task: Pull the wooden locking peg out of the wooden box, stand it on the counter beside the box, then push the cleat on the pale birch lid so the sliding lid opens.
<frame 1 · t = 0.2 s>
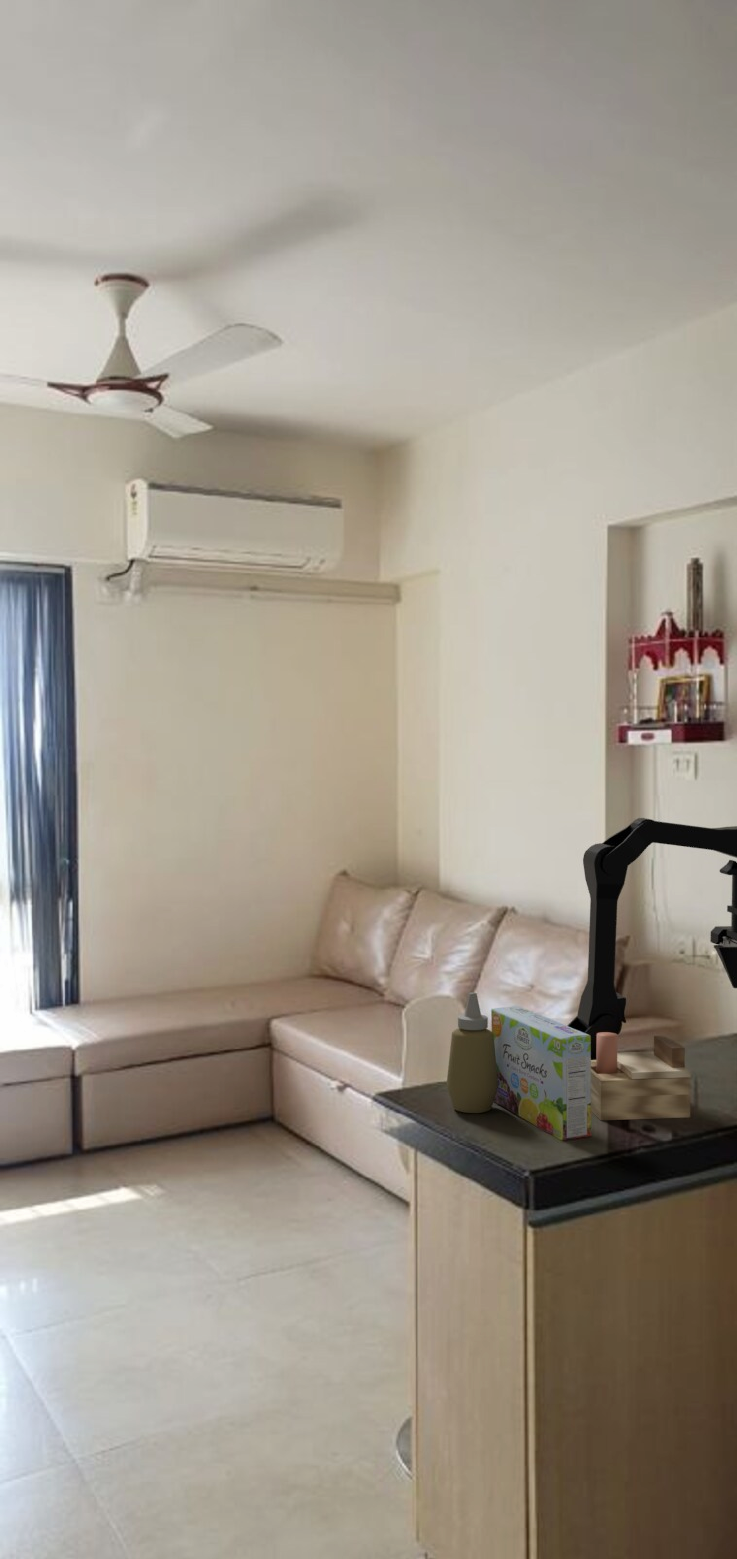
wooden box: (632, 1107, 196), on the worktop
snack box: (538, 1120, 190), on the worktop
lid: (647, 1055, 196), point 8 cm above the worktop, slide at 0.0 cm
key peg: (606, 1085, 195), point 3 cm above the worktop, touching wooden box
squeeze bottle: (472, 1110, 195), on the worktop
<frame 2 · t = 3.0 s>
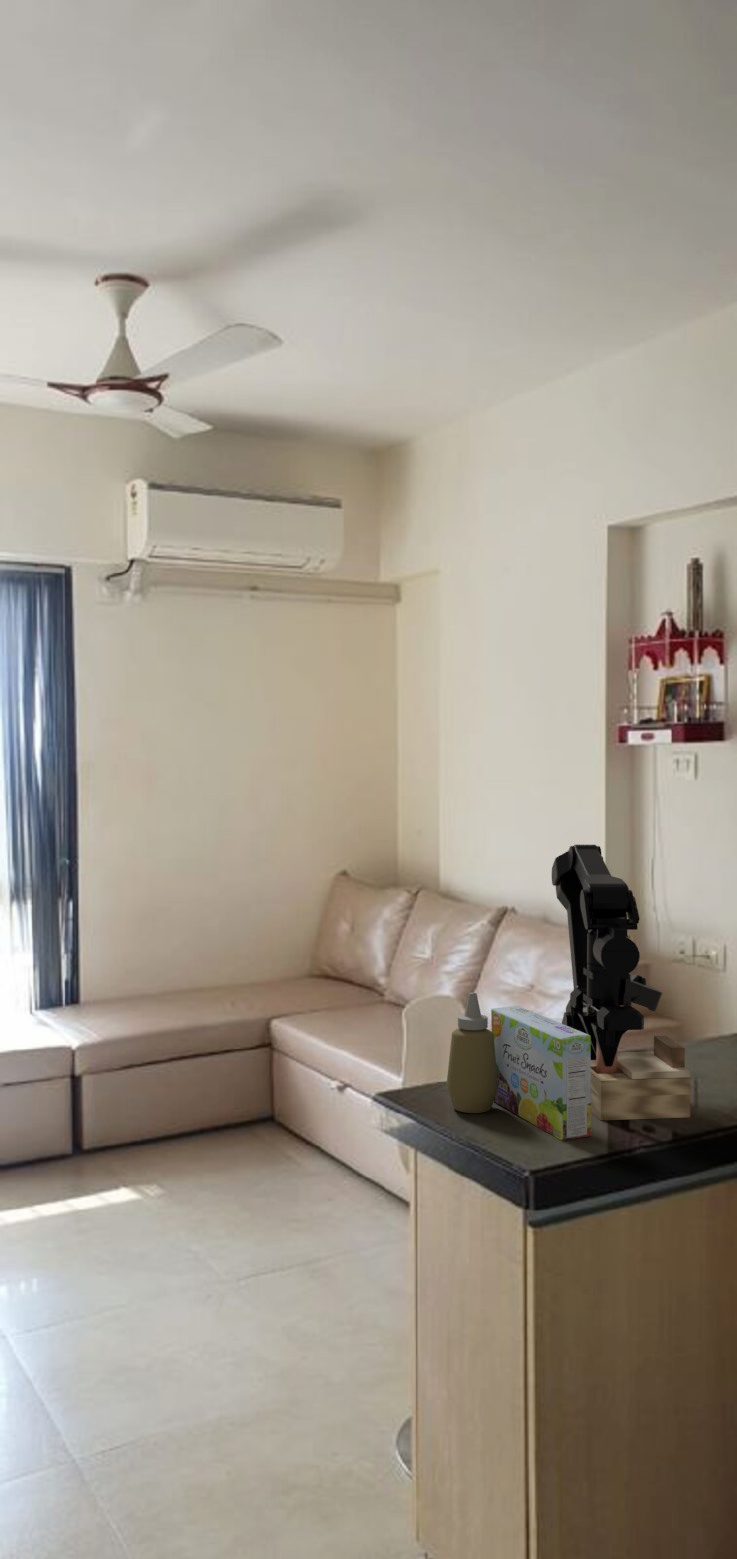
hand: (604, 1063, 195), 7 cm above the worktop, fingers closed on key peg, 3 cm apart
key peg: (606, 1085, 195), point 4 cm above the worktop, touching gripper, wooden box
everything else where it was.
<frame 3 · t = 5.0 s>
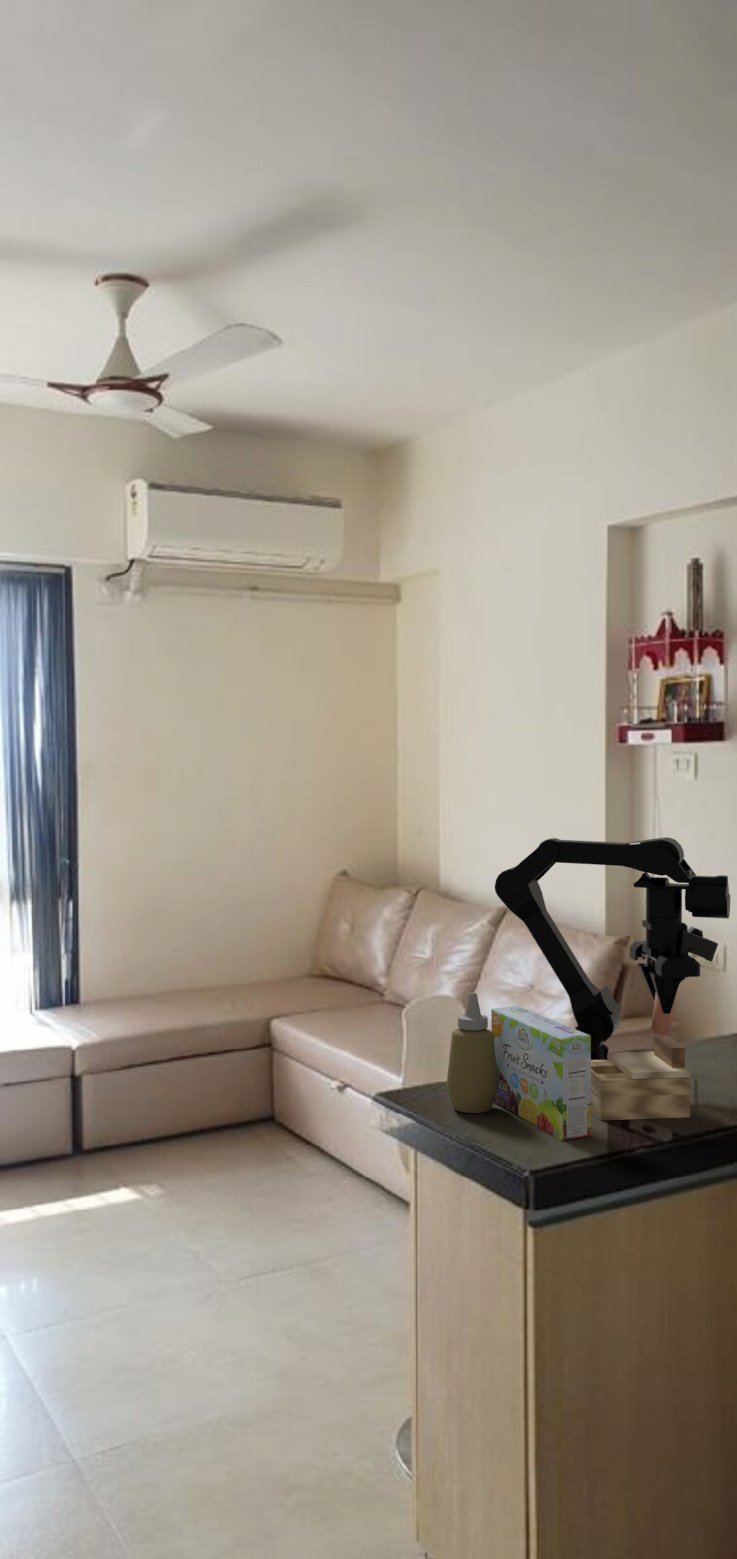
hand: (663, 1011, 205), 13 cm above the worktop, fingers closed on key peg, 3 cm apart
key peg: (660, 1032, 205), point 10 cm above the worktop, tilted 7°, touching gripper
everything else where it was.
when the fingers open (5 cm above the worktop, at t = 7.1 s): key peg stays where it is, on the worktop.
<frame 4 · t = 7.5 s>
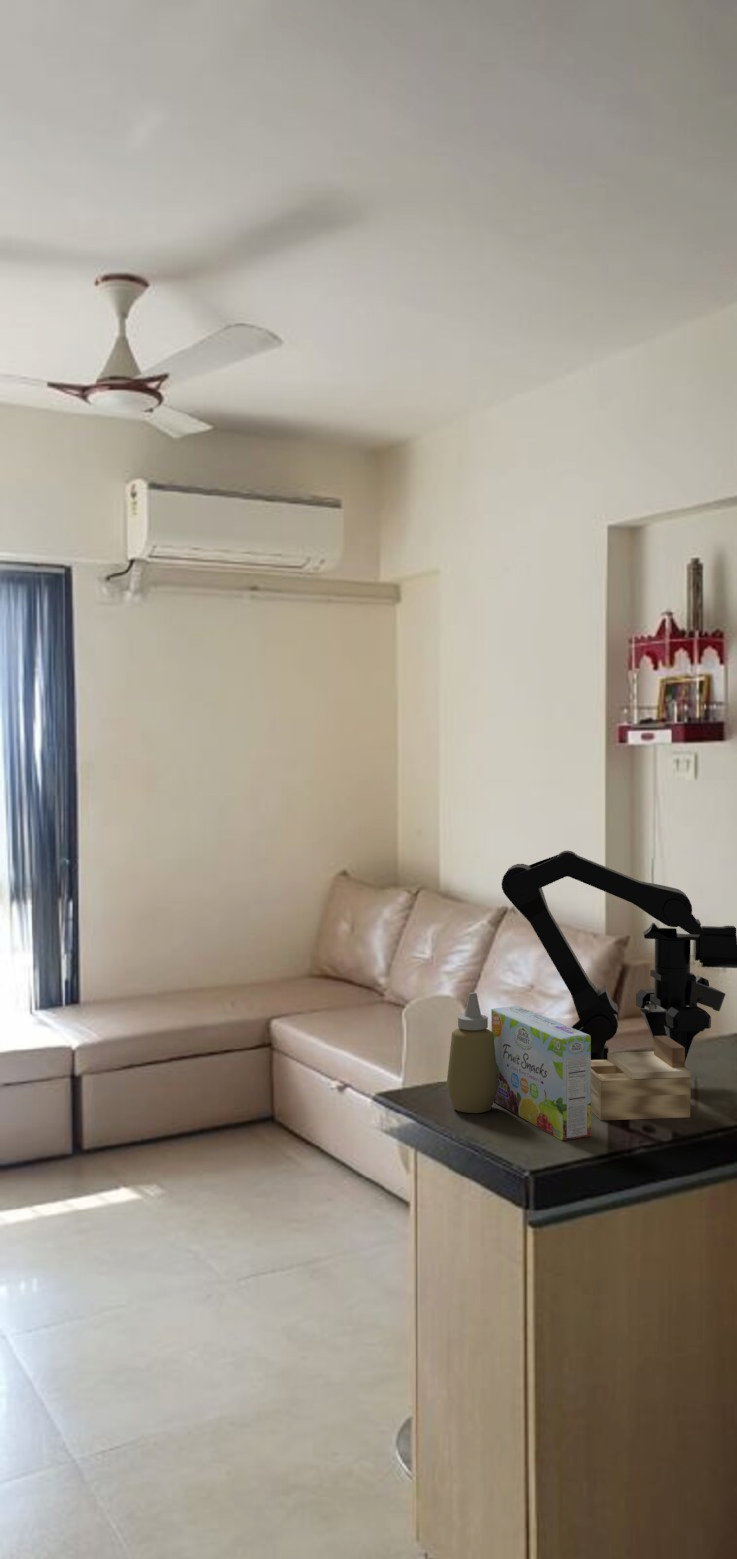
hand: (671, 1060, 207), 5 cm above the worktop, fingers open, 8 cm apart
key peg: (668, 1087, 207), on the worktop
everything else where it was.
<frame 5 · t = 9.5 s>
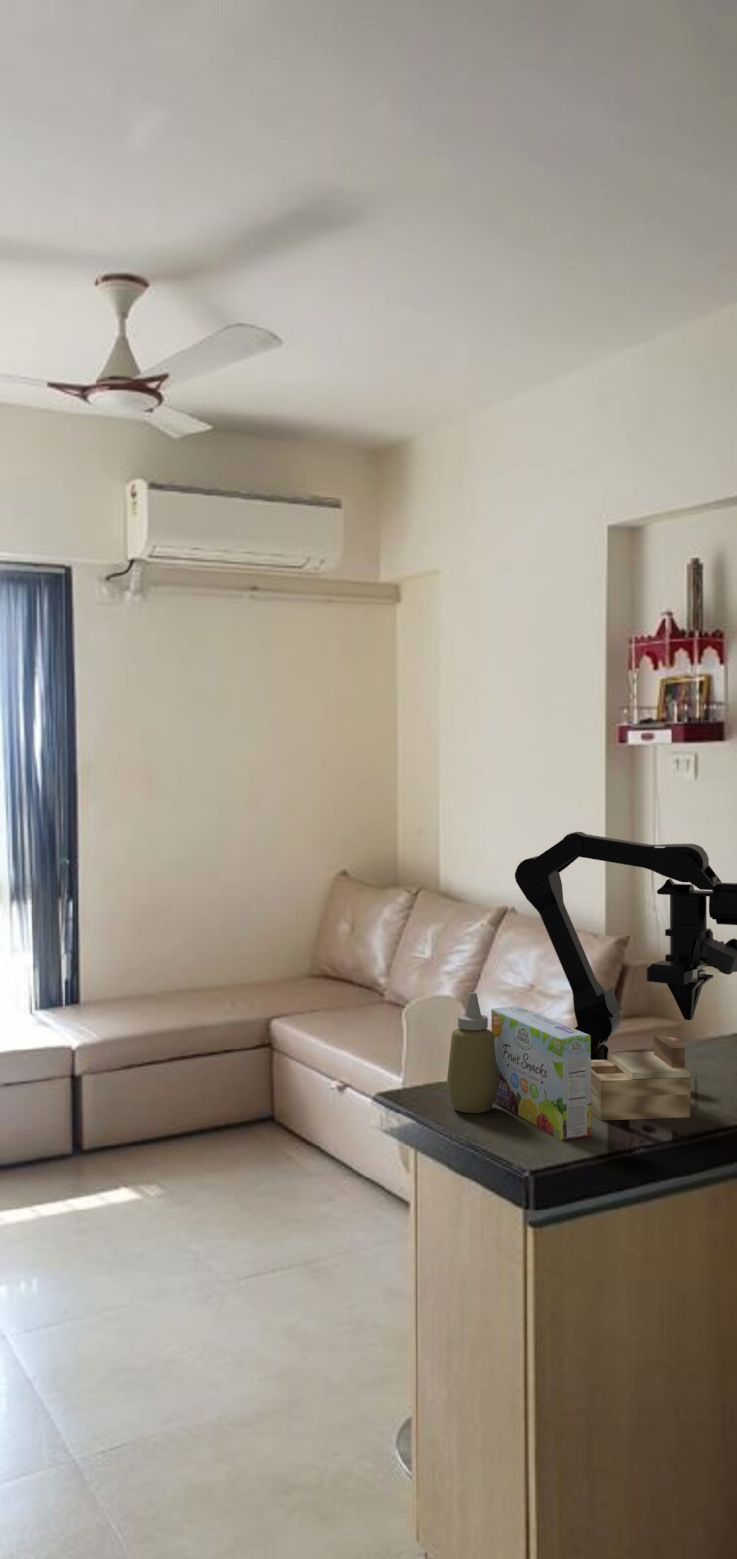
hand: (688, 1019, 202), 12 cm above the worktop, fingers closed
nothing on the worktop moved.
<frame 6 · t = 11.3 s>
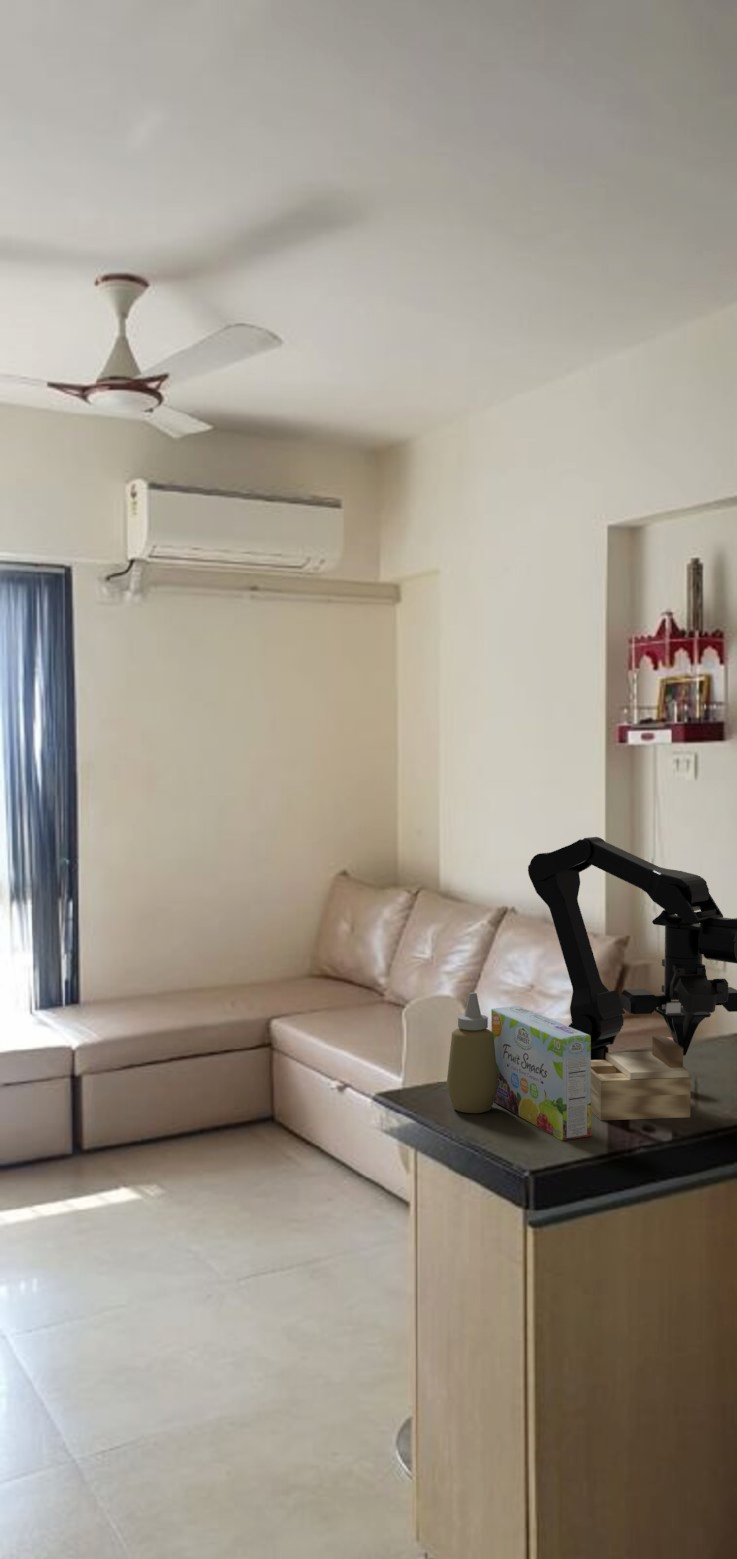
hand: (682, 1055, 197), 8 cm above the worktop, fingers closed
lid: (646, 1055, 196), point 8 cm above the worktop, slide at 0.3 cm, touching gripper
everything else where it was.
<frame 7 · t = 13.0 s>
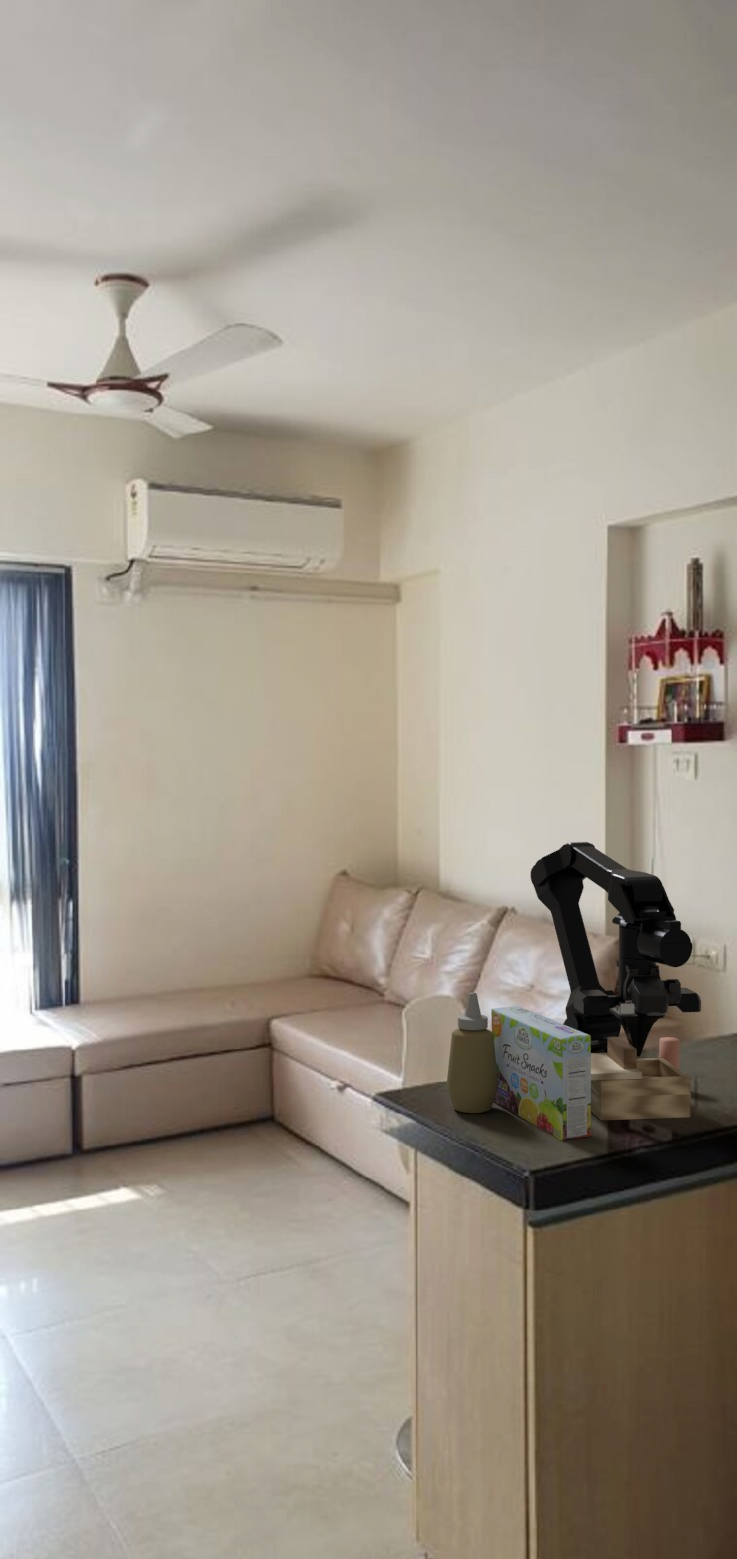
hand: (636, 1056, 196), 8 cm above the worktop, fingers closed
lid: (600, 1056, 195), point 8 cm above the worktop, slide at 7.6 cm, touching gripper
everything else where it was.
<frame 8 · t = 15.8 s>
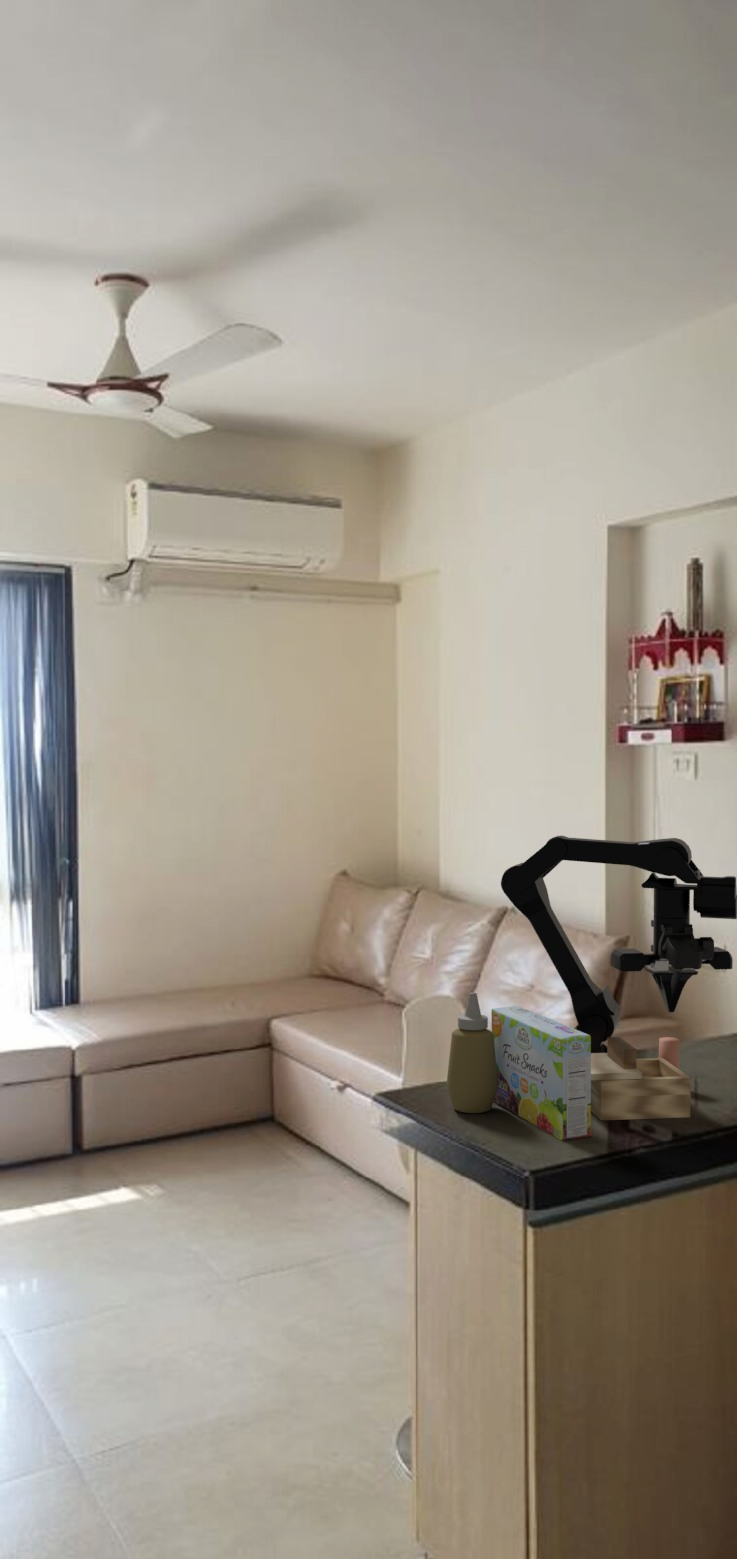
hand: (670, 1011, 205), 13 cm above the worktop, fingers closed
lid: (600, 1056, 195), point 8 cm above the worktop, slide at 7.6 cm
everything else where it was.
at the end: lid slide at 7.6 cm; key peg inside the target area (0.4 cm from its centre), on the worktop; the gripper is holding nothing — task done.
